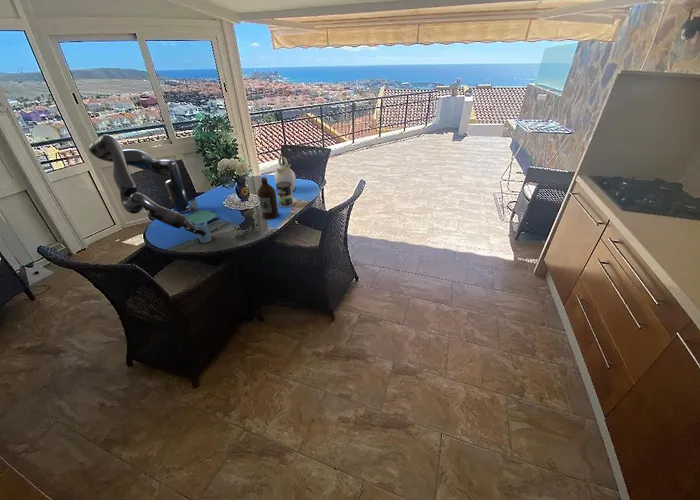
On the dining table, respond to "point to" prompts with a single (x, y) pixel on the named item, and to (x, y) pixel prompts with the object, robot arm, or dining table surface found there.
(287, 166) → the jug
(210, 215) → the cutlery set
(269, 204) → the brown bottle
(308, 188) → the dining table surface
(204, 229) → the cup
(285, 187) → the coffee can
